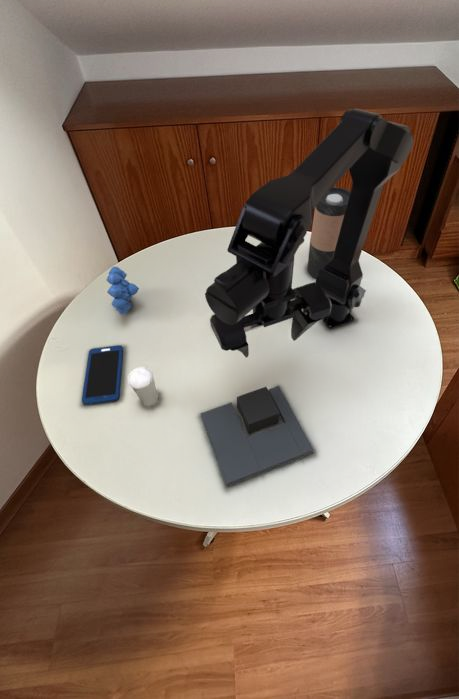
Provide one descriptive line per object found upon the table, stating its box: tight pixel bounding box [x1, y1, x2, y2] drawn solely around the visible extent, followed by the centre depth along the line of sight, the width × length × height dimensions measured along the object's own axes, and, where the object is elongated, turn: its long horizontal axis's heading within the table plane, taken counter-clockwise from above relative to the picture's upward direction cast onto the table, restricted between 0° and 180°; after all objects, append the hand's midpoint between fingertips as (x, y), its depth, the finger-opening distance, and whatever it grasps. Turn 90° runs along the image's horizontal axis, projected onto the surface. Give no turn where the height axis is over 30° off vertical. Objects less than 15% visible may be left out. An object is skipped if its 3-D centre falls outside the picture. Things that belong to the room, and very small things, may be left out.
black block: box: [236, 386, 281, 435], centre depth 68 cm, size 6×6×4 cm
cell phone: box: [81, 344, 124, 405], centre depth 77 cm, size 7×14×1 cm, turn 7°
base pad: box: [200, 385, 314, 488], centre depth 66 cm, size 16×14×2 cm
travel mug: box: [306, 186, 351, 279], centre depth 85 cm, size 8×8×20 cm
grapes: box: [106, 266, 140, 316], centre depth 84 cm, size 12×7×12 cm, turn 8°
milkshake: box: [127, 366, 160, 408], centre depth 68 cm, size 4×5×10 cm
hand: (269, 347), depth 65 cm, fingers open, 9 cm apart
